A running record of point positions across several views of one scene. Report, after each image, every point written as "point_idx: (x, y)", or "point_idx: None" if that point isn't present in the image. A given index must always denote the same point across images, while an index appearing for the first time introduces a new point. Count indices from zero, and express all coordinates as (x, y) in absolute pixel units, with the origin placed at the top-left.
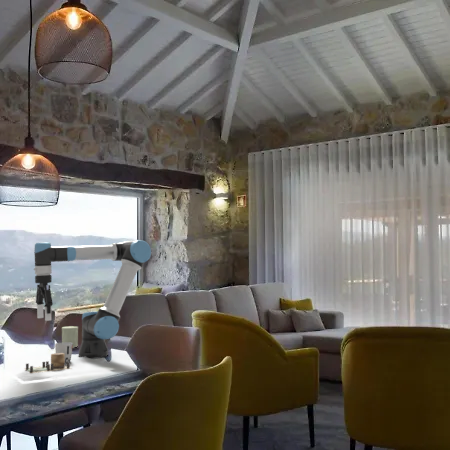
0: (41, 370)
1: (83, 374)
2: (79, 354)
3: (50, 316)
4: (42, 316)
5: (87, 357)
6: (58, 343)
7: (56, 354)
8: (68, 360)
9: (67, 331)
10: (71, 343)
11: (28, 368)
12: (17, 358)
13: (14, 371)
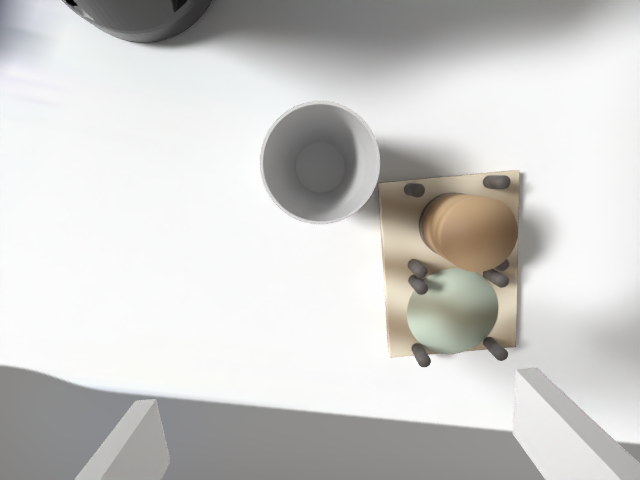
0: (486, 302)
1: (618, 139)
2: (145, 35)
3: (575, 416)
4: (148, 425)
5: (207, 4)
6: (271, 192)
7: (485, 244)
8: (350, 148)
9: None
10: (311, 106)
11: (422, 345)
12: (46, 333)
13: (369, 382)
